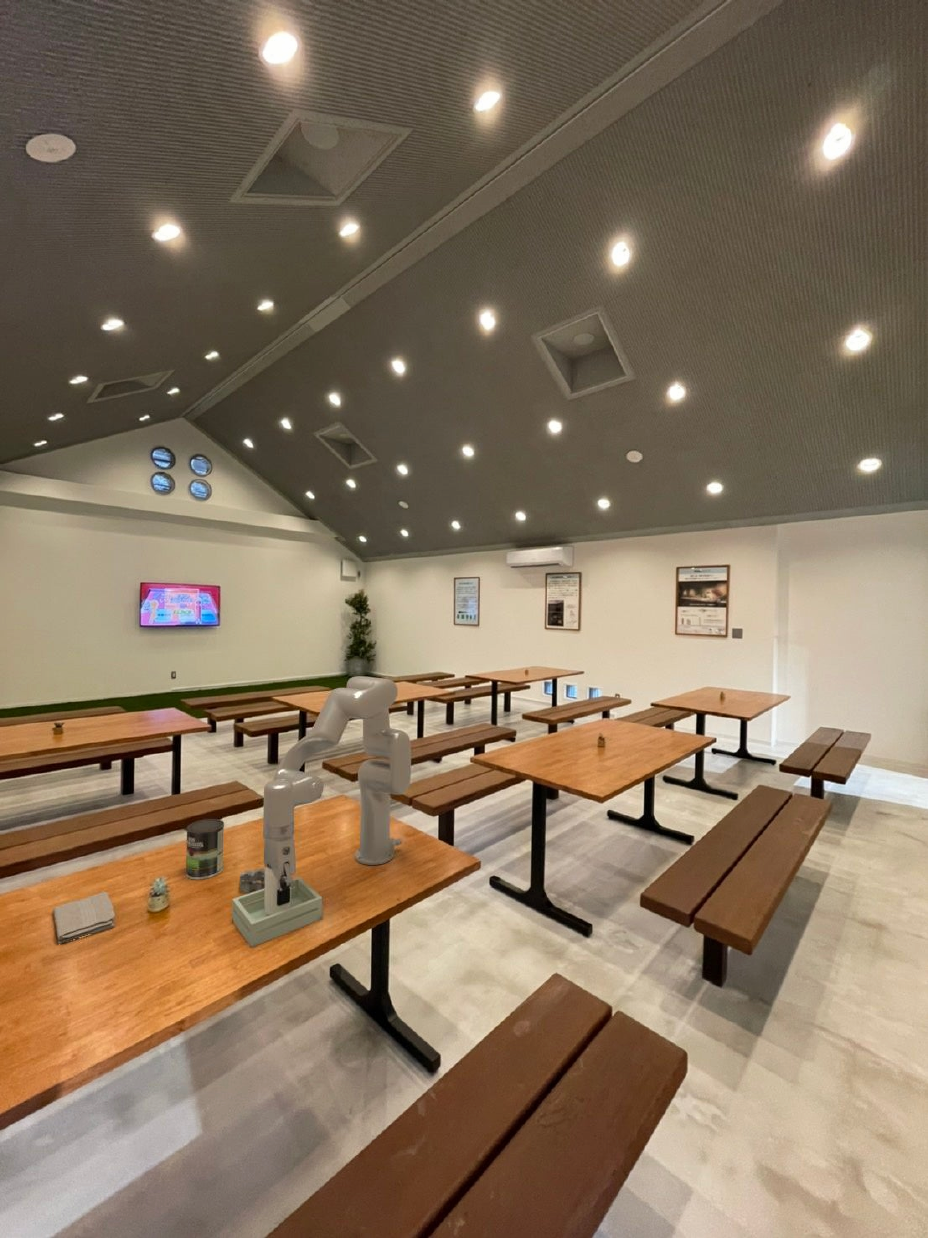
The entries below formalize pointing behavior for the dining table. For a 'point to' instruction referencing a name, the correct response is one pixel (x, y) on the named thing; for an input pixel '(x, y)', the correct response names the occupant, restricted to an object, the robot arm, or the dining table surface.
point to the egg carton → (252, 880)
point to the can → (273, 893)
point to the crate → (267, 927)
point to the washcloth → (83, 917)
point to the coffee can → (204, 849)
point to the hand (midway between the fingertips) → (278, 897)
